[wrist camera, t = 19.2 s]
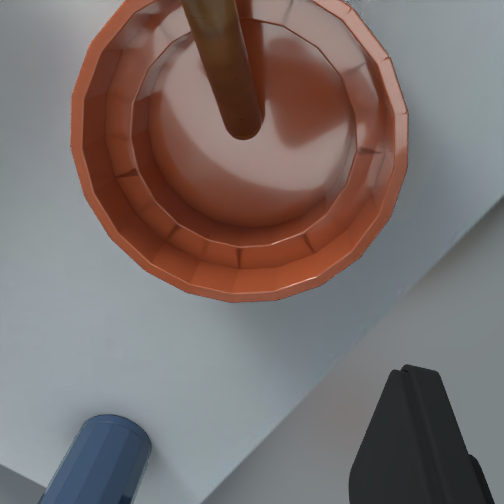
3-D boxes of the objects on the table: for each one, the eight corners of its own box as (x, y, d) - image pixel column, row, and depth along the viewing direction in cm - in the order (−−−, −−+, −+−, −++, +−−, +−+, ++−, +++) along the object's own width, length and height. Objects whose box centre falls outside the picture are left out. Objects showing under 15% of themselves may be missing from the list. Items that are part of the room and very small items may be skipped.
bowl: (429, 10, 24) (464, 8, 18) (344, 275, 30) (351, 330, 25) (127, -54, 24) (74, -76, 18) (109, 223, 31) (67, 266, 25)
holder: (155, 423, 38) (119, 517, 31) (147, 475, 41) (113, 573, 33) (80, 406, 38) (27, 496, 31) (78, 459, 41) (29, 554, 33)
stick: (268, 119, 26) (183, -288, 12) (258, 150, 26) (155, -239, 11) (234, 114, 27) (110, -283, 12) (224, 144, 26) (80, -235, 11)
